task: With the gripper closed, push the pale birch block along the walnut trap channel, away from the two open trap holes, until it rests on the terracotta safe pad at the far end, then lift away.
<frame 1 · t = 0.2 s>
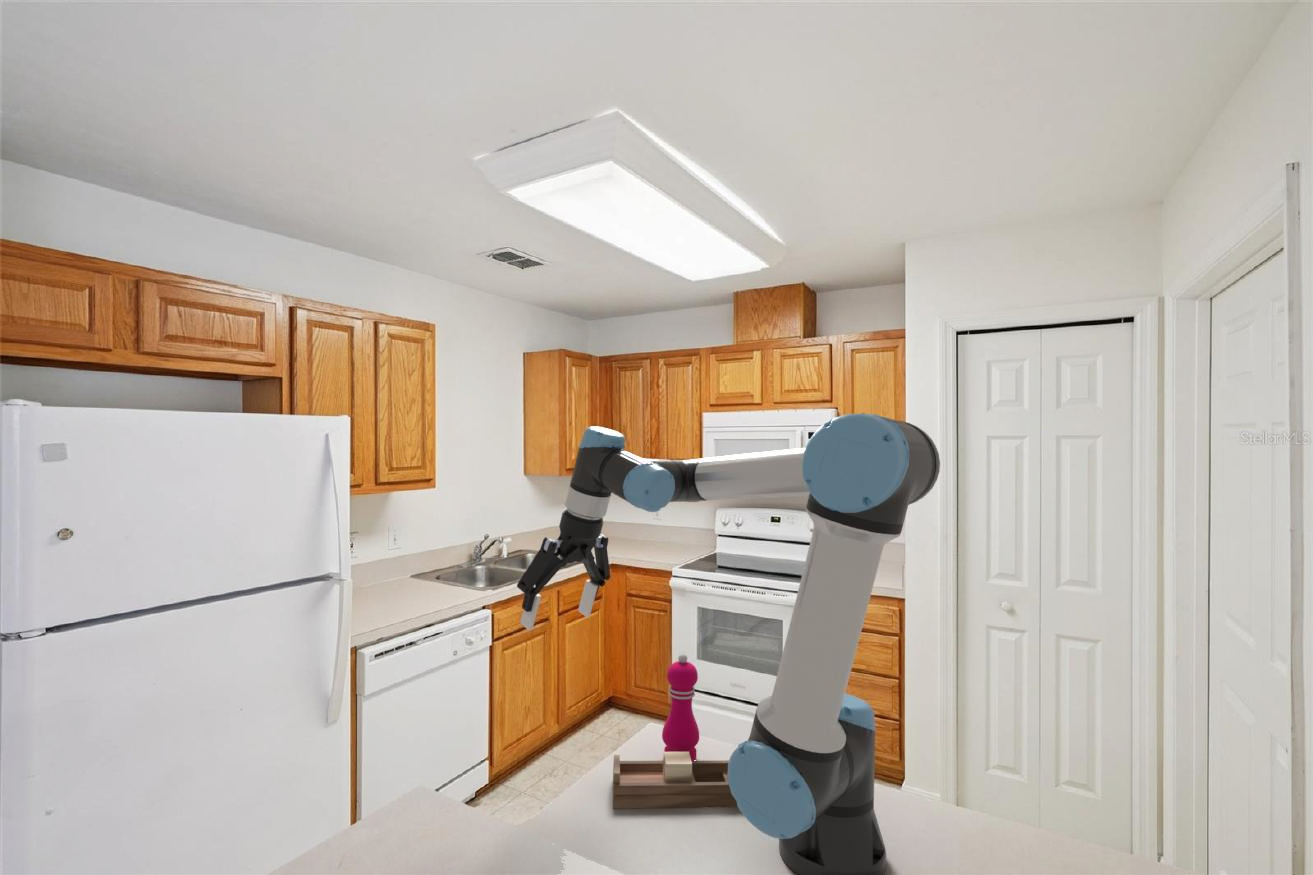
hand: (556, 620, 112), 28 cm above the countertop, tool tilted 20°, fingers open, 13 cm apart
pepper mill: (680, 759, 118), on the countertop
trap channel: (690, 793, 106), on the countertop
birch block: (676, 781, 106), point 2 cm above the countertop, touching trap channel
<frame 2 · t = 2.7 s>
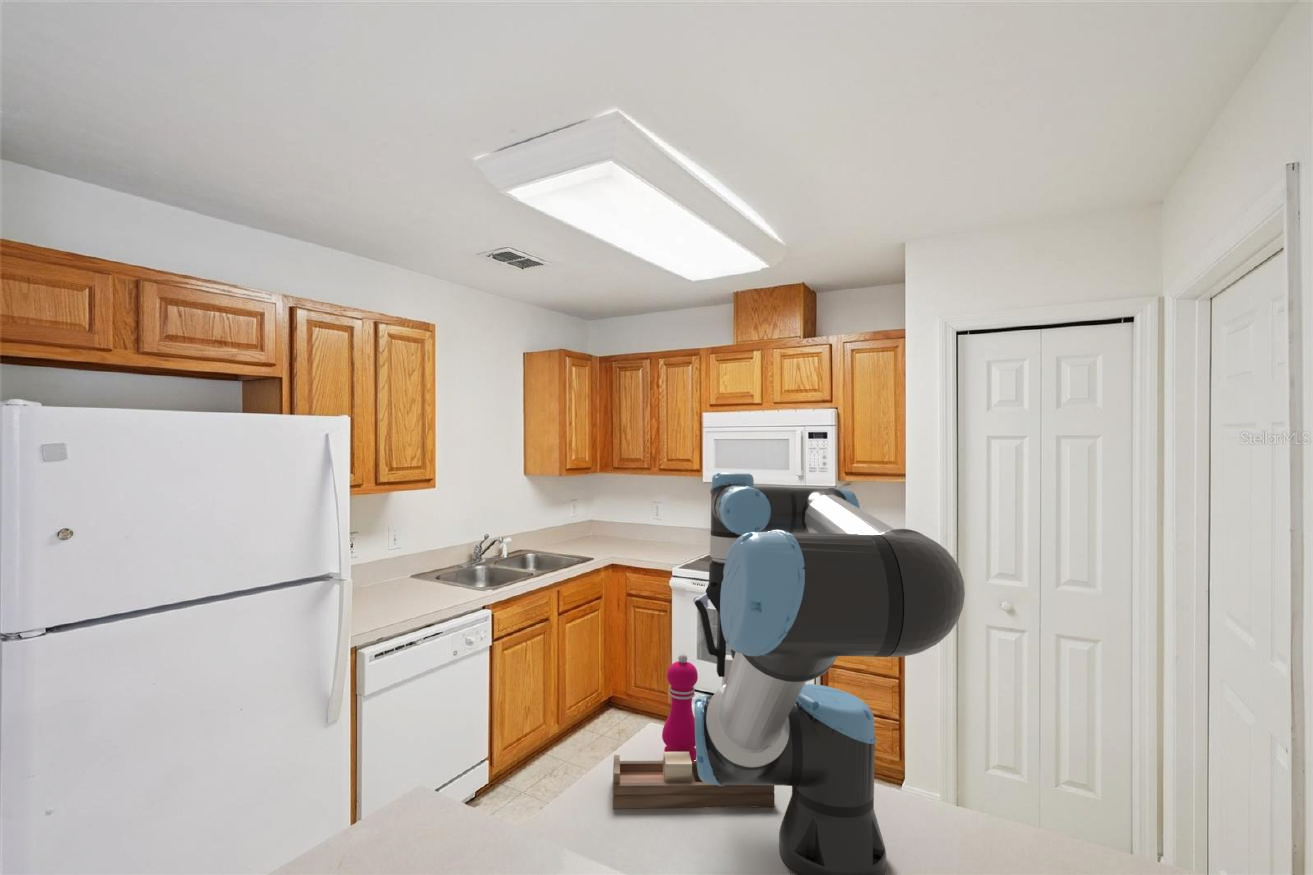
hand: (727, 694, 107), 17 cm above the countertop, tool pointing down, fingers closed
nothing on the countertop moved.
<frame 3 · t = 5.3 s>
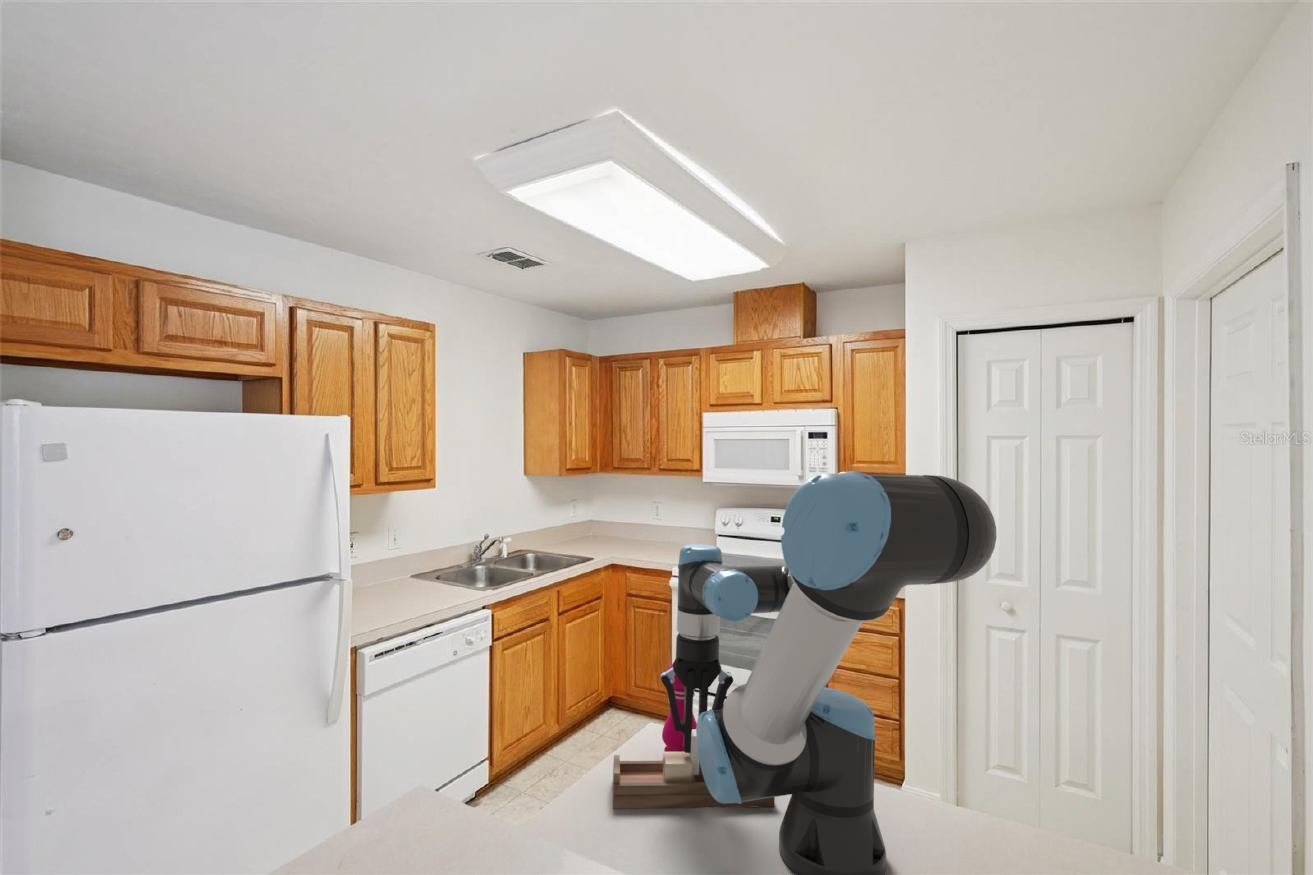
hand: (693, 770, 106), 4 cm above the countertop, tool pointing down, fingers closed
birch block: (676, 781, 106), point 2 cm above the countertop, touching gripper
everything else where it was.
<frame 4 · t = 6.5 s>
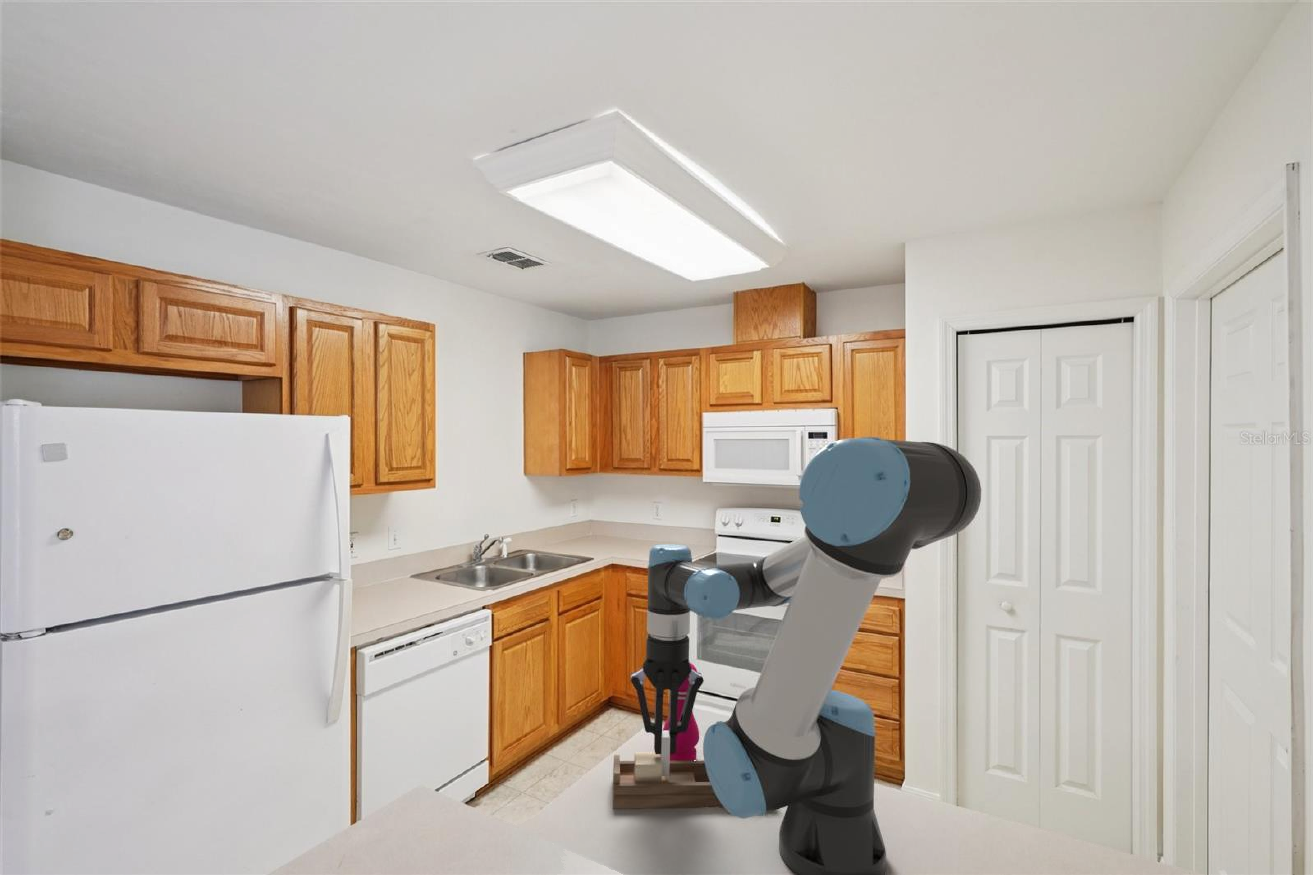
hand: (664, 772, 106), 4 cm above the countertop, tool pointing down, fingers closed
birch block: (647, 781, 105), point 2 cm above the countertop, touching gripper, trap channel
everything else where it was.
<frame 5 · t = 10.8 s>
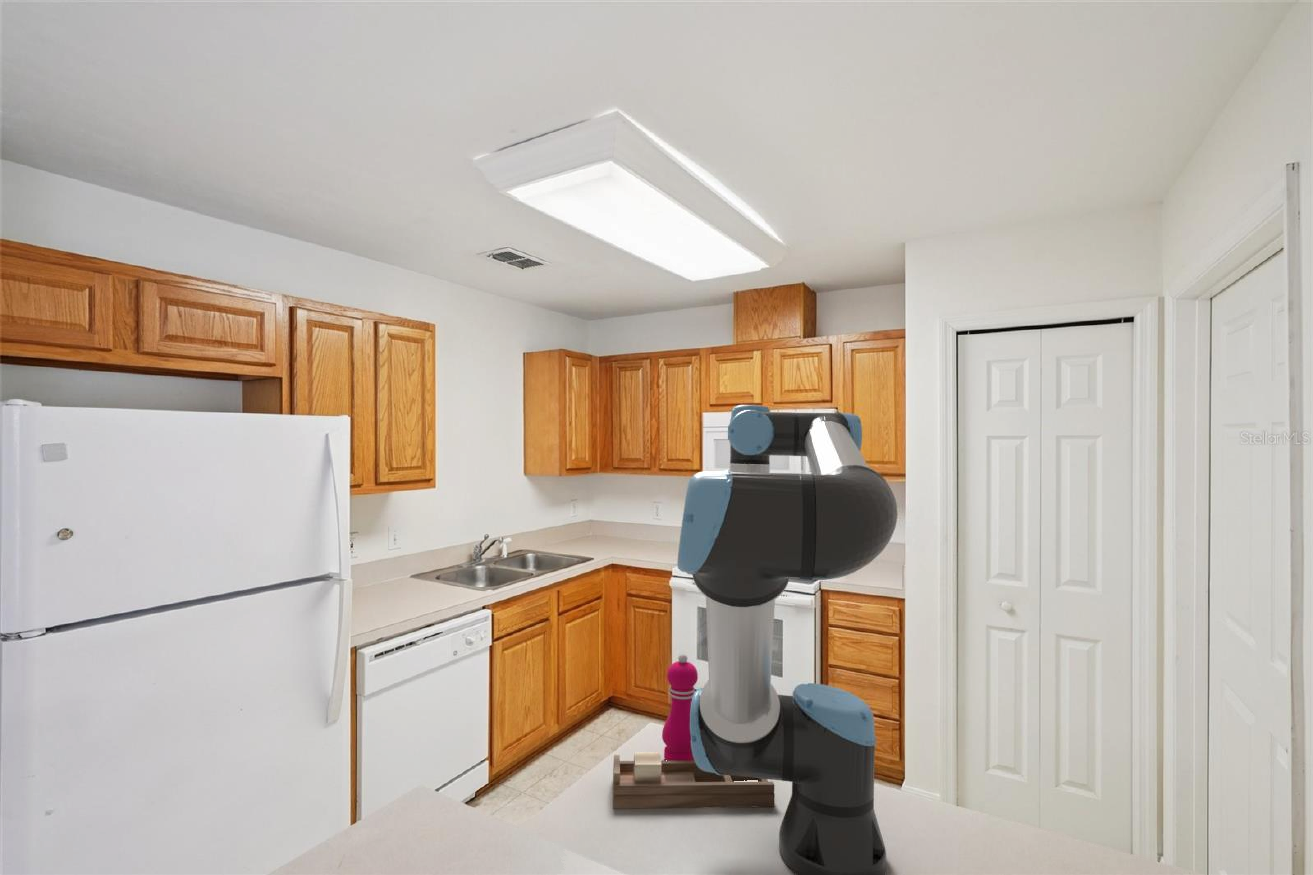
hand: (746, 613, 114), 29 cm above the countertop, tool pointing down, fingers closed
birch block: (646, 782, 105), point 2 cm above the countertop, touching trap channel
everything else where it was.
at the end: birch block 1.2 cm from the target spot on the trap channel, point 2.0 cm above the trap channel's base; birch block tilted 0°; birch block moved 5.2 cm from its start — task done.
